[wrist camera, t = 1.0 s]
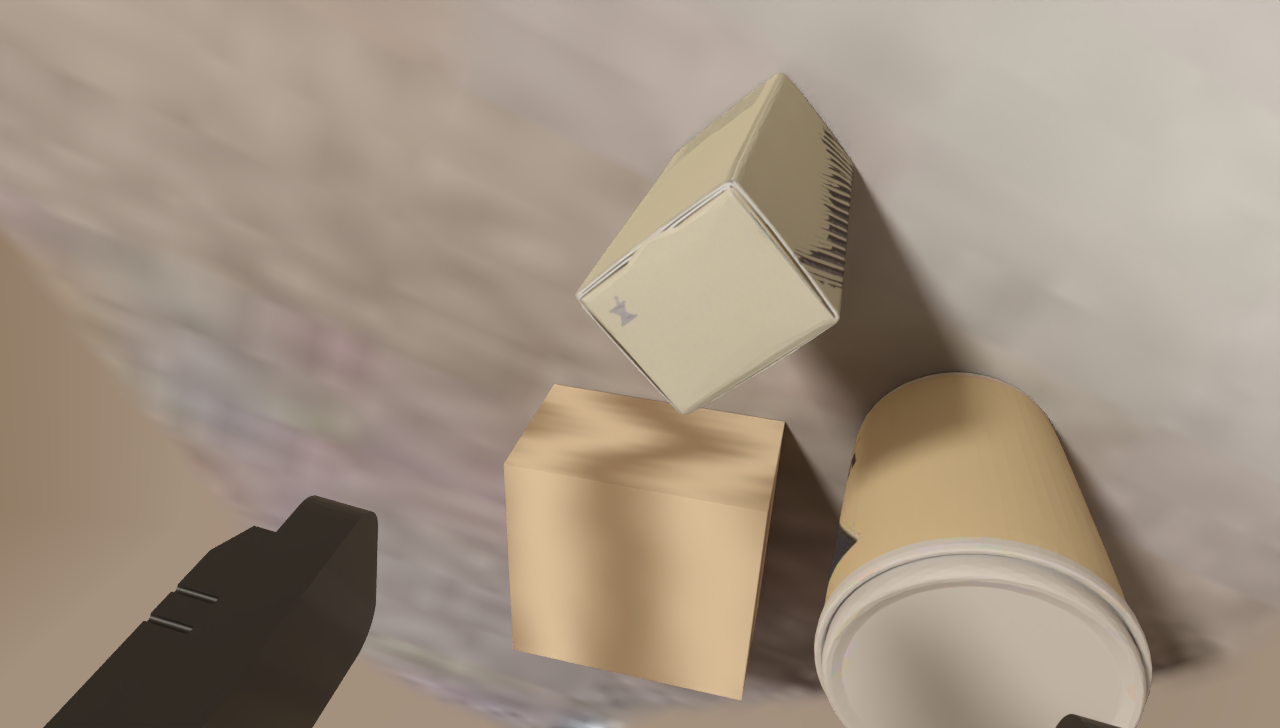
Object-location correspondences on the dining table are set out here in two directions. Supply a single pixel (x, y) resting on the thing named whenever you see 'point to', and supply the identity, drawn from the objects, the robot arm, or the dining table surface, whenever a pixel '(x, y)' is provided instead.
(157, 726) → the robot arm
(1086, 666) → the coffee cup
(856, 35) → the dining table surface
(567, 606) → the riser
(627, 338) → the box
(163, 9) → the dining table surface
